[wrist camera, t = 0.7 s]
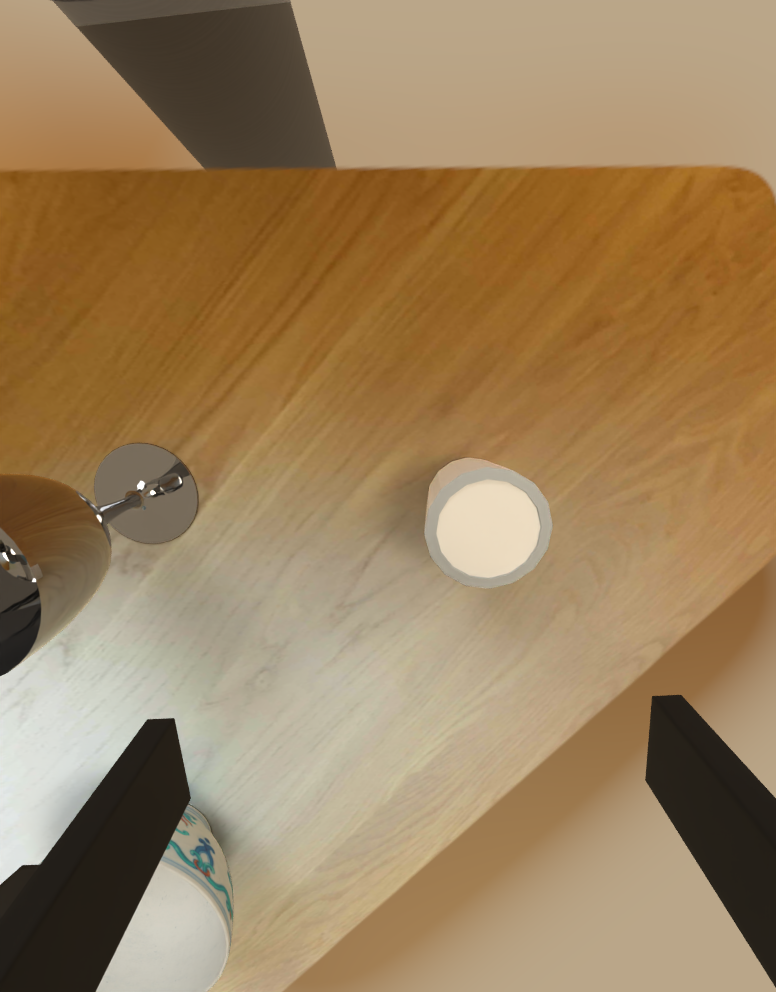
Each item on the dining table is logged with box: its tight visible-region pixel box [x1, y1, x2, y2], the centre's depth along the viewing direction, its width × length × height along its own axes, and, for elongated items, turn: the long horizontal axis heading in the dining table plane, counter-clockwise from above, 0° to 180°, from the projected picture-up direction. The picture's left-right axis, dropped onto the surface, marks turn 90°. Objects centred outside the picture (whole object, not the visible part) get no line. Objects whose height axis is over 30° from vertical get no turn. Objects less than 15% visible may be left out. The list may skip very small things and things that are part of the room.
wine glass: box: [0, 443, 198, 676], centre depth 24 cm, size 8×8×15 cm
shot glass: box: [424, 457, 553, 589], centre depth 28 cm, size 7×7×7 cm
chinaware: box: [39, 805, 234, 992], centre depth 35 cm, size 15×15×8 cm
